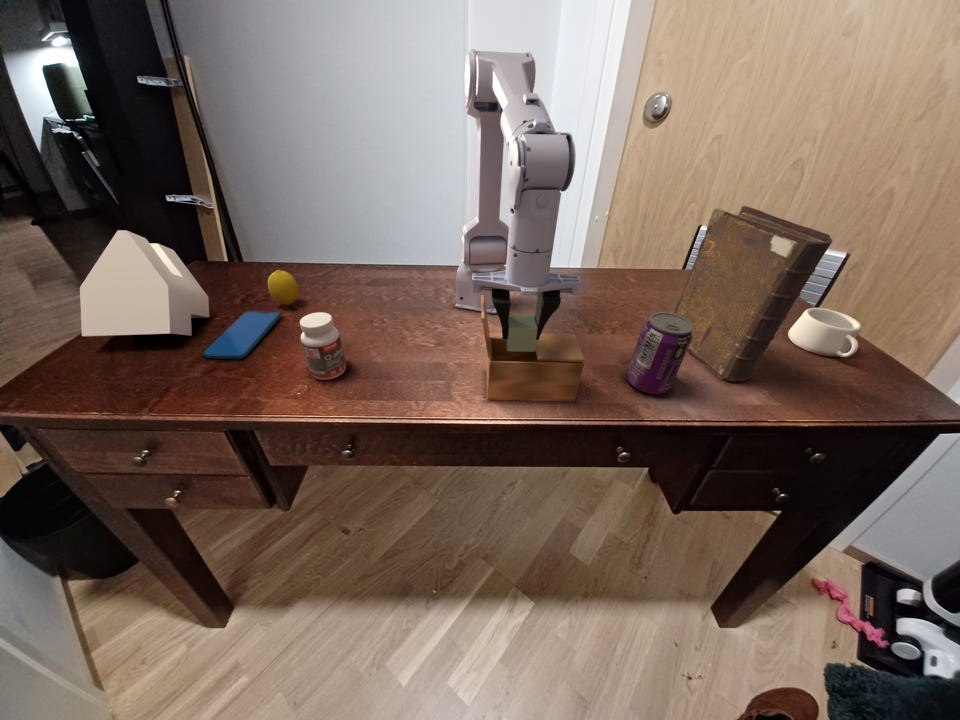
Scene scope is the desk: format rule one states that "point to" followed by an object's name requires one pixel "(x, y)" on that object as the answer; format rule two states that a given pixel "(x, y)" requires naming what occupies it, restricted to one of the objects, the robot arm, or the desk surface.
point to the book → (745, 286)
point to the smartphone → (242, 335)
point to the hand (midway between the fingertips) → (520, 335)
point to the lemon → (283, 287)
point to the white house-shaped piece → (139, 291)
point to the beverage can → (659, 352)
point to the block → (521, 333)
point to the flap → (485, 326)
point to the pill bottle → (322, 346)
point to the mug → (826, 332)
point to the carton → (535, 370)
